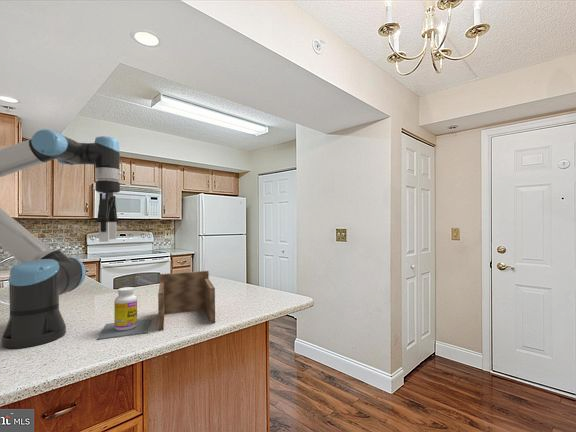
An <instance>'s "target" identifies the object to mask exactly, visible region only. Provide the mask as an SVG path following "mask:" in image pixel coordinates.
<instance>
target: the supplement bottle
mask: <svg viewBox="0 0 576 432" xmlns="http://www.w3.org/2000/svg"><path fill="white" fill-rule="evenodd" d="M134 291H135V287H132V286H131V287H130V286H125V287H120V288H118V289H117V293H118V296H117V297H115V299H114V302H113V303H114V313H113V314H114V319H113V320H114V322H113V323H114V326H115V329H116V330H119V331H124V330H130V329H133V328H135V327H136V326H137V320H138V297H137V296H136V295H135V294H134Z"/></svg>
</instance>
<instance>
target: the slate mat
mask: <svg viewBox="0 0 576 432" xmlns="http://www.w3.org/2000/svg"><path fill="white" fill-rule="evenodd" d="M151 319H152V318H145V319H144V318H143V319H137V326H136V327H135V328H133V329H130V330H124V331H119V330H116V329H115V326H114V322H110V323H105V325H104V326H103V328H102V329H101V332H100V333H99V334H98V336H97V338H96V340H97V341H98V340H99V341H100V340H101V341H102V340H107V339H114V338H122V337H123V338H124V337H129V336H136V335H144V334H149V330H150V326H151Z"/></svg>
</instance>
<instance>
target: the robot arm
mask: <svg viewBox="0 0 576 432" xmlns="http://www.w3.org/2000/svg"><path fill="white" fill-rule="evenodd" d="M120 154H121V150H120V141H119V140H118V139H117V138H115V137H110V136H97V137H95V139H94V142H89V143H88V142H79V141H76V140H74V139H71V138H69V137H67V136H65V135H63V134H61V133H59V132H58V131H54V130H51V129H46V128H45V129H44V128H42V129H39V130H37V131H36V132H35V133H34V134H33V135H32V137H31V138H30V139H27V140H24V141H21V142H18V143H16V144H12V145H9V146H6V147H2V148H0V178H2V177H6V176H8V175H12V174H15V173H18V172H21V171H24V170H26V169H29V168H32V167H35V166H38V165H41V164H44V163H47V162H50V161H54V160H56V161H57V162H58V163H60V164H61V165H70V166H73V165H92V166H93V165H95V166H94V167H95V168H94V169H95V170H94V171H95V172H94V173H95V174H94V175H95V176H94V177H95V180H96V181H95V192H97V193H99V203H98V209H97V211H98V212H97V217H96V218H97V219H96V220H95V222H96V223H98V225H99V226H98V230H99V231H98V238H99V240H98V242H99V243H106V242H107V243H108V242H110V240H117V223H118V222H119V219H118V214H117V212H118V211H117V204H116V195H114V193H116V194H117V193H120V192H121V183H120V176H121V175H122V172H121V171H120V163H121V161H120V158H121V157H120ZM0 247H1V248H2V249H4V250H5V252H8V254H10V255H11V256H12V257H14V258H15V259H16V260H17V261H19V262H20V263H17V264H15V265H14V266H12V267H11V268H10V270H9V277H8V284H9V285H8V286H9V289H8V291H9V318H8V321H7V323H6V326H5V327H4V330H3V331H4V332H3V334H2V336H1V347H3V348H6V349H21V348H22V349H24V348H28V347H29V348H30V347H35V346H39V345H43V344H46V343H49V342H53V341H56V340H57V339H60V338H62V337H63V336H65V335H66V333H67V332H66V331H67V326H66V323H65V320H64V318H63V316H62V313H61V311H60V297H59V296H61V295H63V294H66V293H69V292H72V291H73V290H75V289H76V288H78V287H80V286H81V285H82V284H83V282H84V281H85V278H86V273H87V271H86V266H85V265H84V263H83V262H82V261H81V260H80V259H78V258H75V257H68V256H67V255H66V254H64V253H63V252H62V251H61V250H59V249H51V248H49V247H48V246H47V245H46V244H45V243H44V242H42V241H41V240H40V239H38V238H37V237H36V236H35V235H34V234H33V233H32V232H30V231H29V230H28V229H26V227H24V225H22V224H20V223H19V222H18V221H17V220H16V219H15V218H13V217H12V216H11V215H10V214H8V213H7V212H6V211H5V210H3V209H2V208H1V207H0Z"/></svg>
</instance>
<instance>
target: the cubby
mask: <svg viewBox="0 0 576 432" xmlns="http://www.w3.org/2000/svg"><path fill="white" fill-rule="evenodd" d="M209 275H210V273H209V270H201V271H188V272H187V271H186V272H173V273H172V272H171V273H160V274H159V286H158V287H159V288H158V293H157V299H158V300H157V305H158V306H157V308H158V312H157V313H158V318H157V319H158V320H157V321H158V331H164V329H165V315H168V314H169V315H170V314H176V313H177V314H178V313H185V312H194V311H202V310H203V311H204V310H205V313H206V315H207V317H208V320H209V322H210V324H211V325H212V324H216V288H215V285H213V283H212V282H211V280H210V279H209V278H210V276H209Z"/></svg>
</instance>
